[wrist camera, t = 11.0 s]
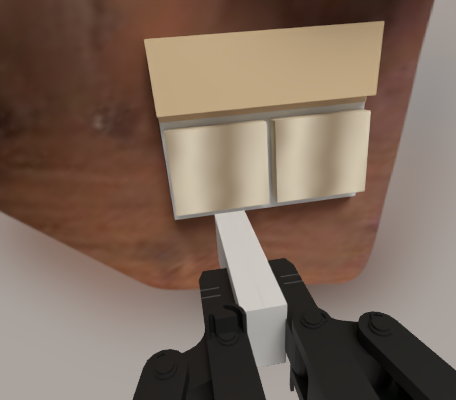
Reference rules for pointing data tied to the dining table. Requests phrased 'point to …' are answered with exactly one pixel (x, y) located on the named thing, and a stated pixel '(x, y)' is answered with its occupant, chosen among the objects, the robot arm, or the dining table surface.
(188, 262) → the dining table surface
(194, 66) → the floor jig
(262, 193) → the cream flat block
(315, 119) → the beige square panel
